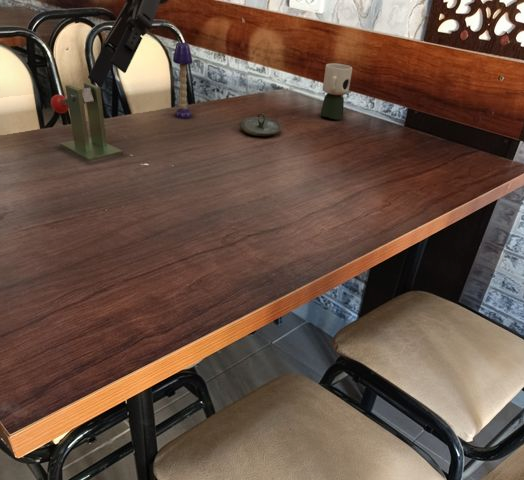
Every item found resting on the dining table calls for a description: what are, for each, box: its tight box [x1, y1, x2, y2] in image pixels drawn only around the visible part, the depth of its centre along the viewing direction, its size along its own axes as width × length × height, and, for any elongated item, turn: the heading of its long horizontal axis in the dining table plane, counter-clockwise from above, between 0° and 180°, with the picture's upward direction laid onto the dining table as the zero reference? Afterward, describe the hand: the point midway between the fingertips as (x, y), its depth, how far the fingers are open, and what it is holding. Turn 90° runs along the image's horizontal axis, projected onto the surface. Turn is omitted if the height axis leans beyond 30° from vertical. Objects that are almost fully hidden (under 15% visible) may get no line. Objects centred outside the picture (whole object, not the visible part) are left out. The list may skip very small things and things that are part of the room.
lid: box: [238, 112, 283, 137], centre depth 125 cm, size 11×10×5 cm
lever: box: [50, 87, 94, 114], centre depth 104 cm, size 14×4×4 cm, turn 47°
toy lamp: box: [172, 41, 193, 120], centre depth 126 cm, size 5×5×17 cm
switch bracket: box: [59, 81, 124, 162], centre depth 103 cm, size 11×8×13 cm
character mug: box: [319, 62, 353, 120], centre depth 137 cm, size 11×7×13 cm, turn 161°
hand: (105, 75), depth 90 cm, fingers open, 13 cm apart
